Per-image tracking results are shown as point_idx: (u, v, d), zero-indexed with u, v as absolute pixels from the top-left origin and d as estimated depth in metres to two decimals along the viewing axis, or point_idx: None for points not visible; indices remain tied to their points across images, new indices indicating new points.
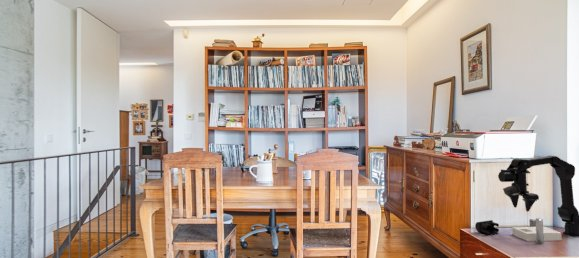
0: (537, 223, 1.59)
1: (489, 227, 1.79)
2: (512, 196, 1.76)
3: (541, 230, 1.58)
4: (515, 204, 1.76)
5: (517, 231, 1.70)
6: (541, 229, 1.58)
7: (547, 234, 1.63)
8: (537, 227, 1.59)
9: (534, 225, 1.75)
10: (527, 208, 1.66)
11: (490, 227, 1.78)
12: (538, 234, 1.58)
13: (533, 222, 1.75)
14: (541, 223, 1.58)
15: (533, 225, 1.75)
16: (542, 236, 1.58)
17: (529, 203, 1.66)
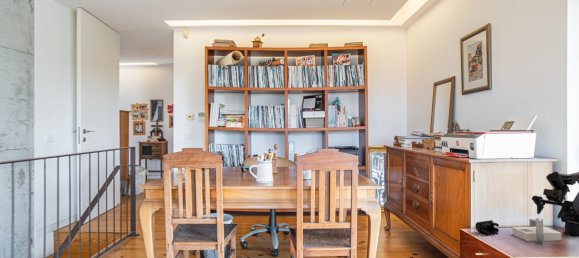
0: (537, 223, 1.59)
1: (489, 227, 1.79)
2: (540, 203, 1.68)
3: (541, 230, 1.58)
4: (539, 211, 1.67)
5: (517, 231, 1.70)
6: (541, 229, 1.58)
7: (547, 234, 1.63)
8: (537, 227, 1.59)
9: (534, 225, 1.75)
10: (560, 215, 1.58)
11: (490, 227, 1.78)
12: (538, 234, 1.58)
13: (533, 222, 1.75)
14: (541, 223, 1.58)
15: (533, 225, 1.75)
16: (542, 236, 1.58)
17: (564, 211, 1.58)
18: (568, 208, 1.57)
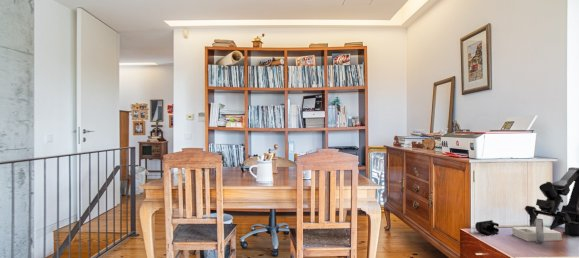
0: (537, 223, 1.59)
1: (489, 227, 1.79)
2: (533, 214, 1.66)
3: (541, 230, 1.58)
4: (532, 222, 1.64)
5: (517, 231, 1.70)
6: (541, 229, 1.58)
7: (547, 234, 1.63)
8: (537, 227, 1.59)
9: (534, 225, 1.75)
10: (553, 226, 1.55)
11: (490, 227, 1.78)
12: (538, 234, 1.58)
13: None
14: (541, 223, 1.58)
15: (533, 225, 1.75)
16: (542, 236, 1.58)
17: (557, 223, 1.56)
18: (561, 219, 1.54)
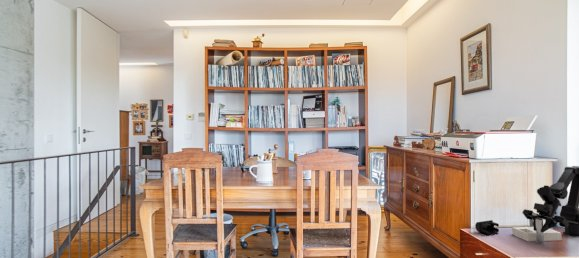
0: (537, 223, 1.59)
1: (489, 227, 1.79)
2: None
3: None
4: None
5: (517, 231, 1.70)
6: (541, 229, 1.58)
7: (547, 234, 1.63)
8: (537, 227, 1.59)
9: None
10: (544, 229, 1.57)
11: (490, 227, 1.78)
12: (538, 234, 1.58)
13: (533, 222, 1.75)
14: (541, 223, 1.58)
15: (533, 225, 1.75)
16: (542, 236, 1.58)
17: (548, 225, 1.57)
18: (552, 222, 1.56)
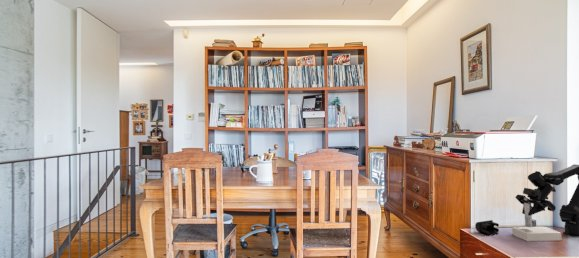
0: (525, 207, 1.66)
1: (489, 227, 1.79)
2: None
3: None
4: None
5: (517, 231, 1.70)
6: (528, 212, 1.65)
7: (547, 234, 1.63)
8: (525, 210, 1.66)
9: (534, 225, 1.75)
10: (531, 212, 1.64)
11: (490, 227, 1.78)
12: (526, 217, 1.66)
13: (533, 222, 1.75)
14: (528, 206, 1.65)
15: (533, 225, 1.75)
16: (530, 219, 1.65)
17: (536, 209, 1.64)
18: (539, 206, 1.62)
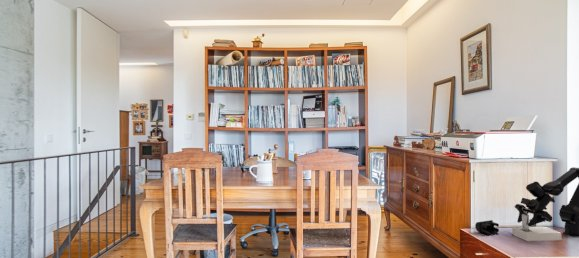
0: (522, 218, 1.68)
1: (489, 227, 1.79)
2: (523, 212, 1.72)
3: (526, 225, 1.67)
4: (520, 220, 1.71)
5: (517, 231, 1.70)
6: (526, 224, 1.67)
7: (547, 234, 1.63)
8: (522, 222, 1.68)
9: (534, 225, 1.75)
10: (531, 223, 1.64)
11: (490, 227, 1.78)
12: (523, 228, 1.68)
13: None
14: (526, 218, 1.67)
15: (533, 225, 1.75)
16: (527, 230, 1.67)
17: (536, 220, 1.64)
18: (539, 217, 1.63)
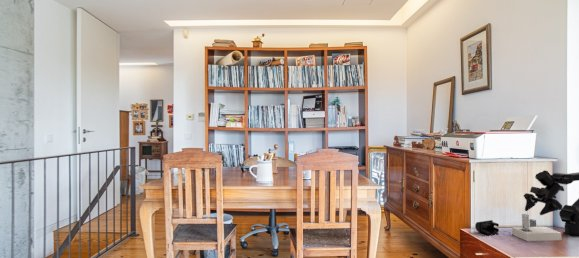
0: (522, 218, 1.68)
1: (489, 227, 1.79)
2: (530, 200, 1.74)
3: (526, 225, 1.67)
4: (527, 208, 1.73)
5: (517, 231, 1.70)
6: (526, 224, 1.67)
7: (547, 234, 1.63)
8: (522, 222, 1.68)
9: (534, 225, 1.75)
10: (542, 212, 1.64)
11: (490, 227, 1.78)
12: (523, 228, 1.68)
13: (533, 222, 1.75)
14: (526, 218, 1.67)
15: (533, 225, 1.75)
16: (527, 231, 1.67)
17: (548, 209, 1.63)
18: (551, 206, 1.62)
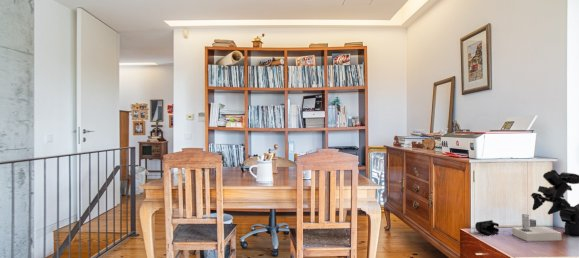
0: (522, 218, 1.68)
1: (489, 227, 1.79)
2: (537, 200, 1.75)
3: (526, 225, 1.67)
4: (535, 207, 1.74)
5: (517, 231, 1.70)
6: (526, 224, 1.67)
7: (547, 234, 1.63)
8: (522, 222, 1.68)
9: (534, 225, 1.75)
10: (550, 211, 1.64)
11: (490, 227, 1.78)
12: (523, 228, 1.68)
13: (533, 222, 1.75)
14: (526, 218, 1.67)
15: (533, 225, 1.75)
16: (527, 231, 1.67)
17: (556, 208, 1.64)
18: (559, 205, 1.62)
